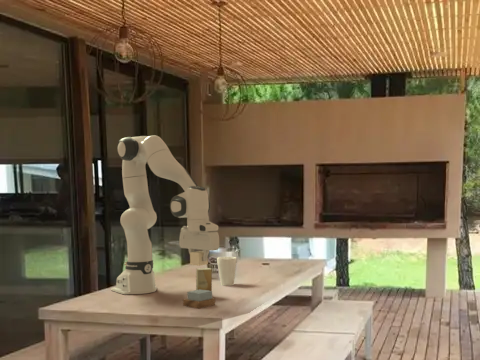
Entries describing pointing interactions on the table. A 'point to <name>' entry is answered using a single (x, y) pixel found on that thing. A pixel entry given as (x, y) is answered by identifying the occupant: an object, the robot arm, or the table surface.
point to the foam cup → (227, 270)
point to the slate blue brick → (199, 295)
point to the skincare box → (204, 279)
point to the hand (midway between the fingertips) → (199, 260)
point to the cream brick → (197, 258)
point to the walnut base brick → (198, 303)
